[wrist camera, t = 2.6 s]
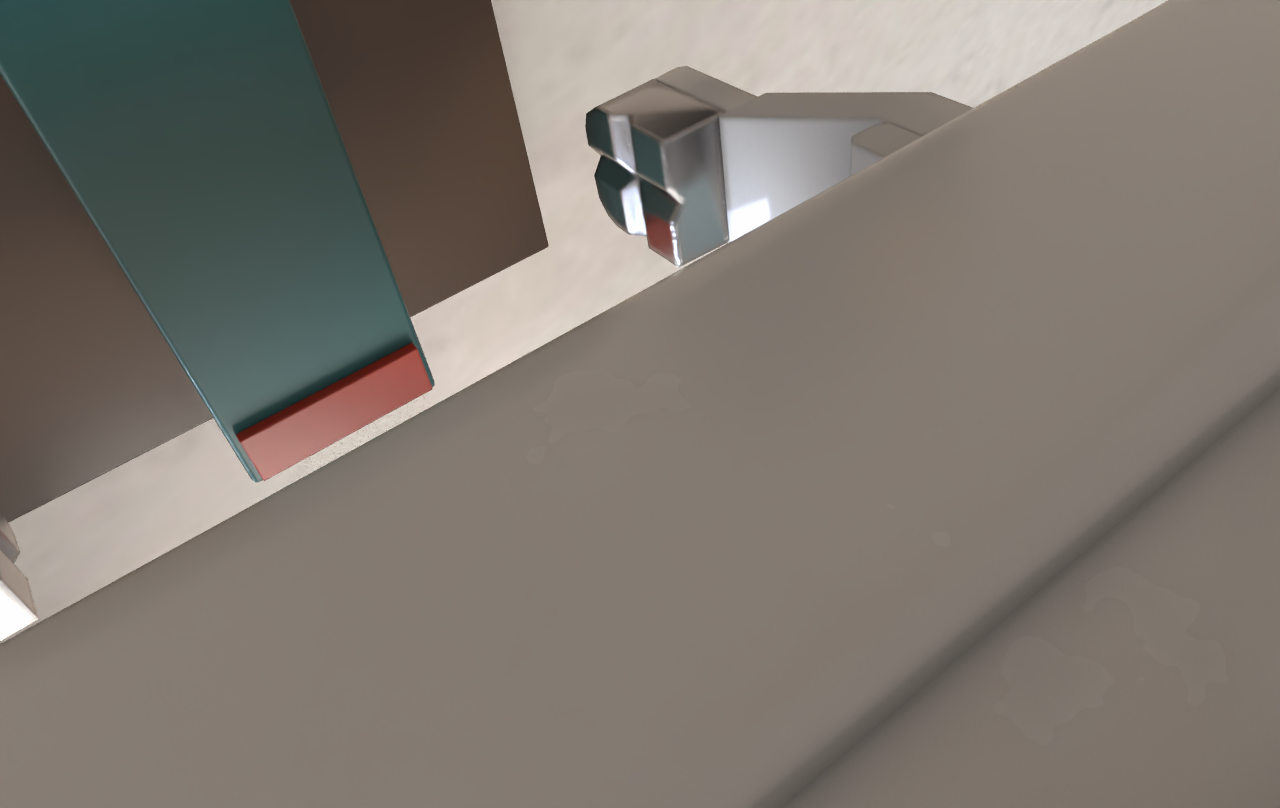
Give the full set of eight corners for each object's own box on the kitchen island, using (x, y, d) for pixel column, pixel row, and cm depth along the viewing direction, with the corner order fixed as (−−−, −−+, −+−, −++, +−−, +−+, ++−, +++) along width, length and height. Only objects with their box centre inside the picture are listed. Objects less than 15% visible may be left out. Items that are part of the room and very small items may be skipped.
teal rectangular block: (-225, -301, 12) (-217, -277, 9) (62, -359, 13) (162, -357, 10) (175, 349, 20) (260, 493, 16) (335, 273, 21) (443, 393, 18)
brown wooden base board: (-979, -426, 10) (-1117, -438, 9) (322, -595, 16) (388, -622, 14) (-71, 494, 21) (-57, 567, 19) (522, 204, 26) (573, 242, 24)
